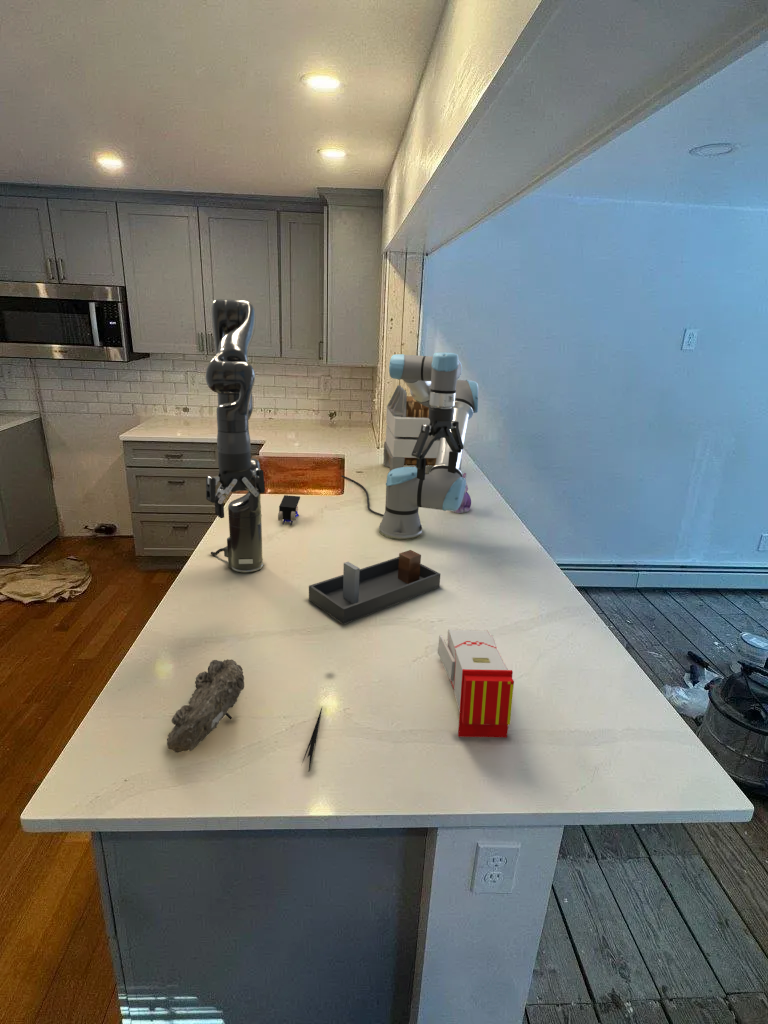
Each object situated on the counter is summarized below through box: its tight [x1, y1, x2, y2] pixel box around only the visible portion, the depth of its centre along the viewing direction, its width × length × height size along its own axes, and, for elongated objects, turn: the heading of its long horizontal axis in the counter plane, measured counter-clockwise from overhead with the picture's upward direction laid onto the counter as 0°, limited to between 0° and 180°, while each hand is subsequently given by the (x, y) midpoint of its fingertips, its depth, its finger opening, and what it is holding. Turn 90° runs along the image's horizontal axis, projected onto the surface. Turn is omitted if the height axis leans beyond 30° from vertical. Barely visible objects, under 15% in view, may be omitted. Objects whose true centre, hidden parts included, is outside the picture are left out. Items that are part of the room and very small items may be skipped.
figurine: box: [452, 472, 472, 514], centre depth 224 cm, size 9×10×15 cm
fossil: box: [166, 658, 245, 754], centre depth 106 cm, size 22×10×15 cm
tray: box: [308, 556, 441, 625], centre depth 156 cm, size 16×34×11 cm, turn 131°
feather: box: [301, 673, 332, 771], centre depth 108 cm, size 2×28×2 cm
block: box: [398, 549, 422, 584], centre depth 164 cm, size 4×4×8 cm
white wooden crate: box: [383, 384, 463, 472], centre depth 268 cm, size 34×33×41 cm
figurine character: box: [277, 494, 301, 526], centre depth 207 cm, size 7×8×15 cm
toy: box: [437, 628, 515, 738], centre depth 117 cm, size 12×13×30 cm
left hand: (237, 513), depth 138 cm, fingers open, 8 cm apart
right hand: (436, 475), depth 175 cm, fingers open, 13 cm apart
